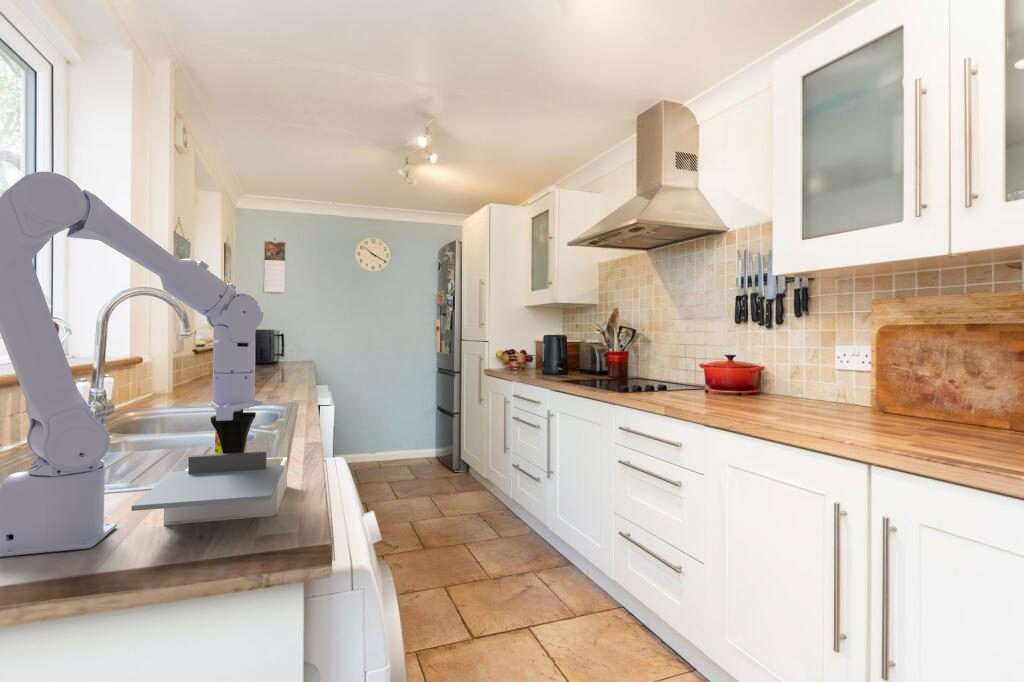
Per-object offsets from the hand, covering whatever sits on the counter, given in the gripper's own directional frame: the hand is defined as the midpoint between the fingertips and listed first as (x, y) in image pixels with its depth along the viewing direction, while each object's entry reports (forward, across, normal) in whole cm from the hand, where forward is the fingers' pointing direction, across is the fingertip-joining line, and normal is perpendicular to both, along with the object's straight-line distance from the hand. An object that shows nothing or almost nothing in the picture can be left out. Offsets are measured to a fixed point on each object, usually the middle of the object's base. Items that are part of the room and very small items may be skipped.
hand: (233, 461), depth 80 cm
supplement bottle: (+7, +25, +5) cm, 27 cm away
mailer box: (+6, 0, 0) cm, 7 cm away
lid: (+1, -10, 0) cm, 10 cm away
